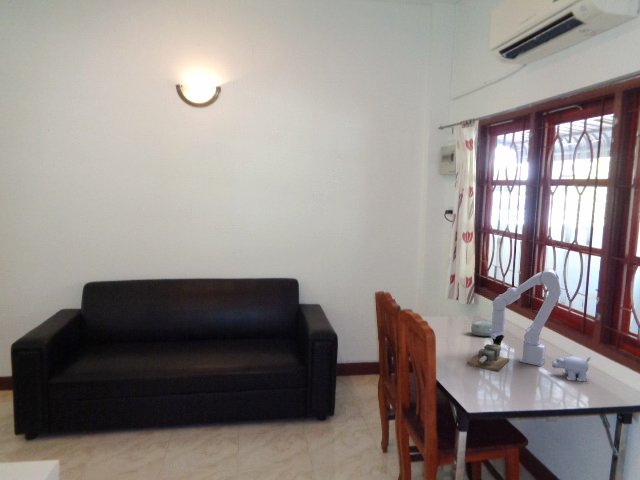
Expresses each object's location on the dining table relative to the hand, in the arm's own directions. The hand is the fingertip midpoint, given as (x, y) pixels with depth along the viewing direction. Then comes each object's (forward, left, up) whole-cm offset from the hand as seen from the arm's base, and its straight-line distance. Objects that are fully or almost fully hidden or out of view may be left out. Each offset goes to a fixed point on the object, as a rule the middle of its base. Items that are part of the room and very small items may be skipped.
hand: (496, 349), depth 238 cm
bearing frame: (0, +12, -3) cm, 12 cm away
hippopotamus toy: (-33, +5, -3) cm, 34 cm away
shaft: (0, +12, -1) cm, 12 cm away
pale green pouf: (+15, -27, -3) cm, 31 cm away
